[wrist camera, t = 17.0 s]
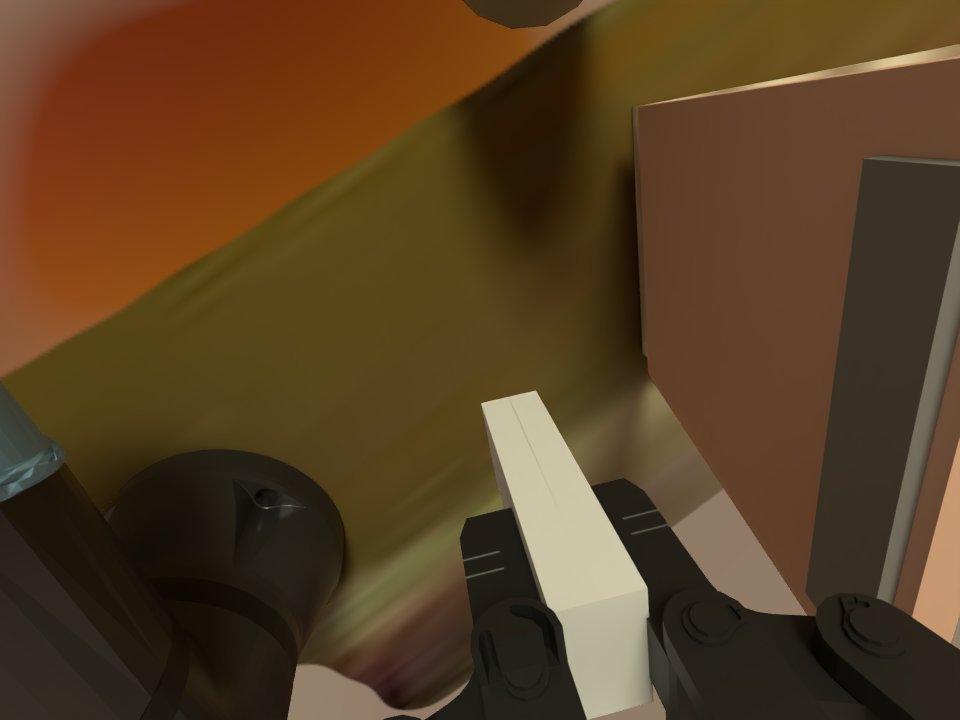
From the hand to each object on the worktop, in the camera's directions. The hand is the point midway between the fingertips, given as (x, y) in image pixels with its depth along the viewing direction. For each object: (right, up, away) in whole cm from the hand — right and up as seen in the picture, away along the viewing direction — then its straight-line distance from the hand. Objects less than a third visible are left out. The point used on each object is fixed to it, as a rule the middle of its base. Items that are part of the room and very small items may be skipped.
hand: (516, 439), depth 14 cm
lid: (+9, +4, +5) cm, 11 cm away
